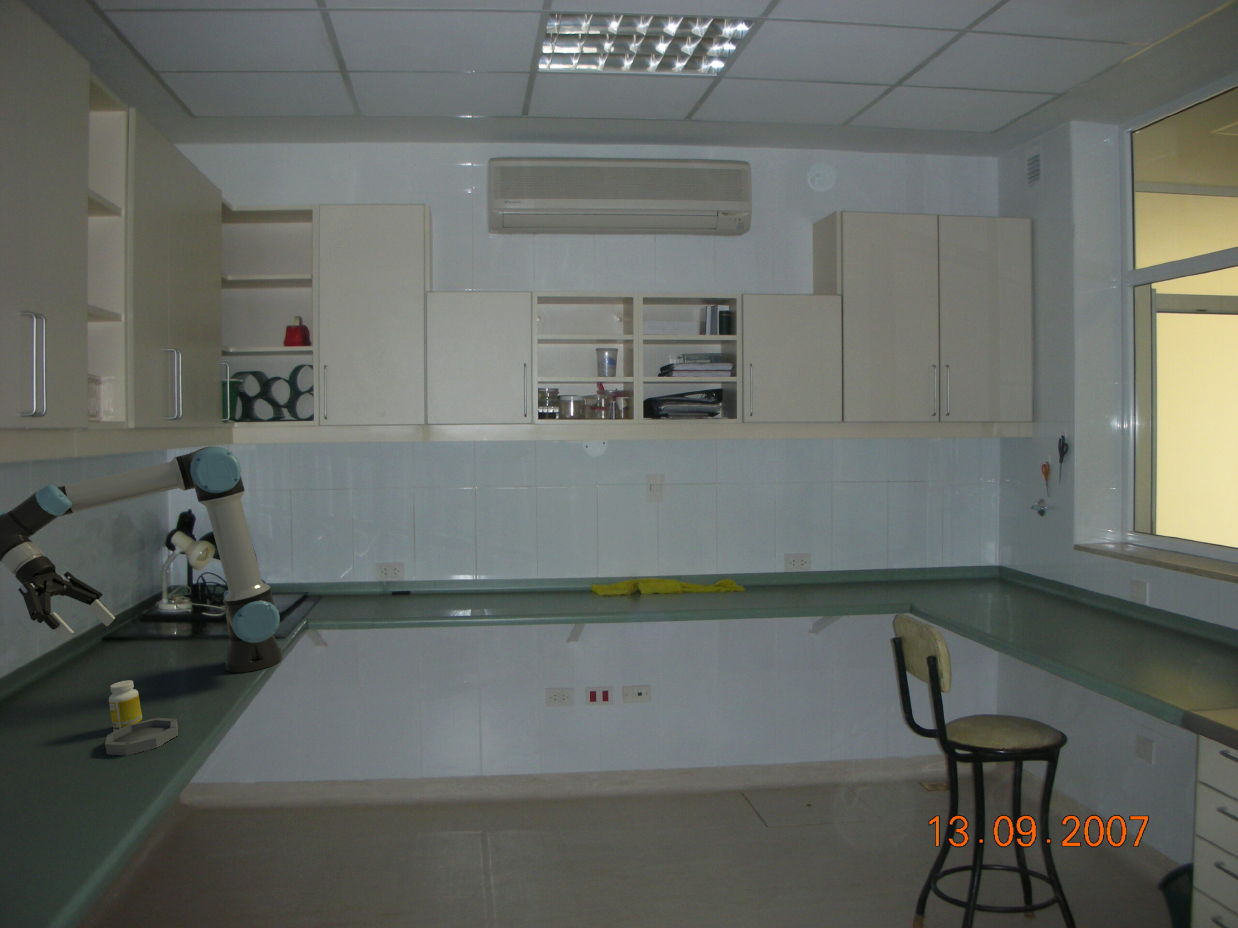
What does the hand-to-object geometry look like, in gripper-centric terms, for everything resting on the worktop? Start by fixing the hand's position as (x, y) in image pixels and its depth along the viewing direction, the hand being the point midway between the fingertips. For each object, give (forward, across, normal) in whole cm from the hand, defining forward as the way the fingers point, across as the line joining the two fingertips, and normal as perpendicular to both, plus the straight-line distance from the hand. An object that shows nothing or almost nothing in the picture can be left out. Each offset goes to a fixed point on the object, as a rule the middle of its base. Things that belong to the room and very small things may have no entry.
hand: (91, 629), depth 194 cm
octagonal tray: (+29, +7, -4) cm, 30 cm away
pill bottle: (+23, -1, -11) cm, 26 cm away
